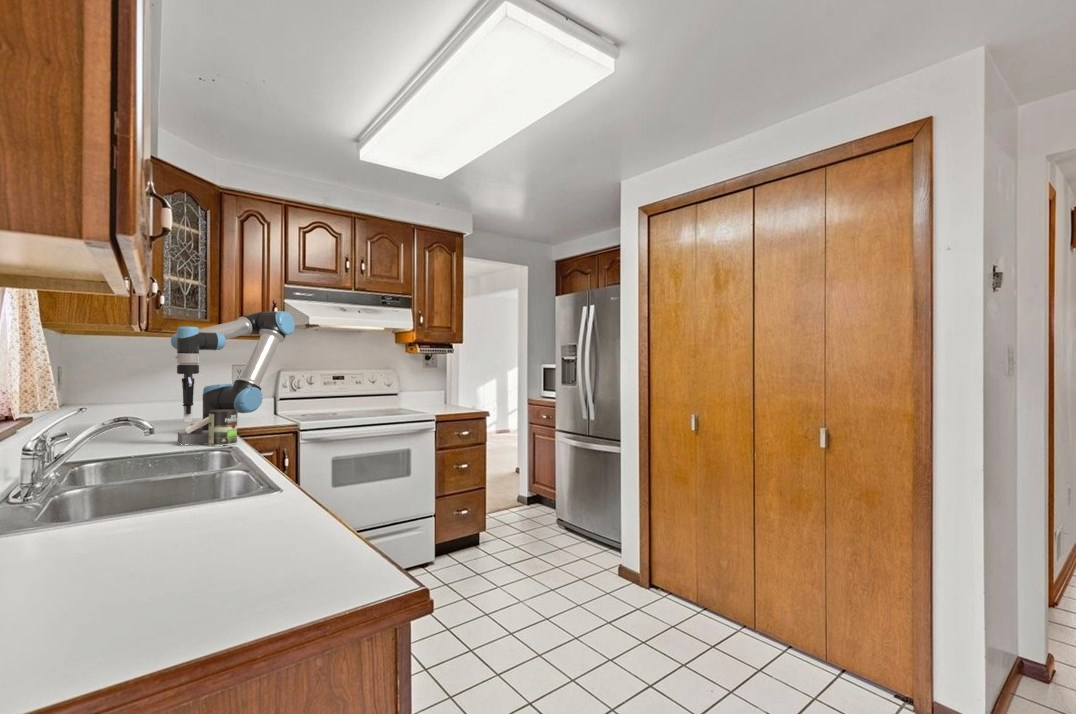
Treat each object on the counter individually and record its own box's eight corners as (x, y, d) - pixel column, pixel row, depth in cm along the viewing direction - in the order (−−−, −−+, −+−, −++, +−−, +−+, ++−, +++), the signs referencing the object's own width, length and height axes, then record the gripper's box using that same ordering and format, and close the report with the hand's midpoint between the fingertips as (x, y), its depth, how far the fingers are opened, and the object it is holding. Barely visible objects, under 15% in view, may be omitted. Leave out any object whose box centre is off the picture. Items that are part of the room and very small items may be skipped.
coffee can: (243, 443, 218) (243, 409, 218) (223, 447, 208) (224, 411, 208) (222, 442, 220) (222, 408, 221) (201, 446, 210) (202, 410, 210)
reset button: (189, 432, 222) (189, 423, 222) (200, 432, 224) (200, 423, 224) (191, 433, 219) (191, 424, 219) (202, 433, 221) (202, 423, 221)
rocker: (186, 432, 216) (183, 428, 215) (211, 420, 222) (208, 415, 221) (187, 433, 213) (184, 429, 212) (213, 420, 219) (210, 416, 218)
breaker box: (177, 441, 220) (177, 427, 220) (210, 439, 228) (211, 425, 228) (182, 445, 210) (182, 430, 210) (216, 442, 218) (216, 428, 218)
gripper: (174, 364, 217) (174, 420, 217) (179, 364, 207) (179, 424, 207) (196, 363, 222) (196, 419, 222) (201, 364, 212) (201, 422, 212)
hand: (188, 421), depth 215 cm, fingers closed
